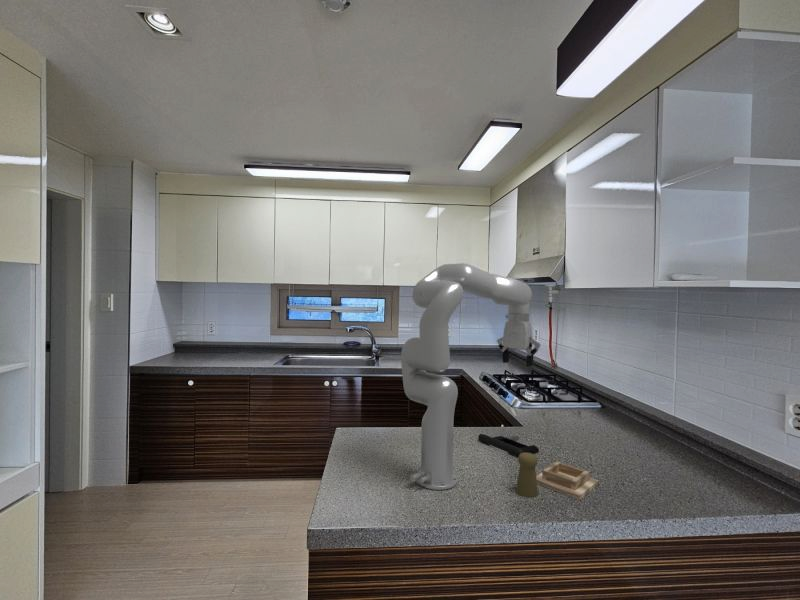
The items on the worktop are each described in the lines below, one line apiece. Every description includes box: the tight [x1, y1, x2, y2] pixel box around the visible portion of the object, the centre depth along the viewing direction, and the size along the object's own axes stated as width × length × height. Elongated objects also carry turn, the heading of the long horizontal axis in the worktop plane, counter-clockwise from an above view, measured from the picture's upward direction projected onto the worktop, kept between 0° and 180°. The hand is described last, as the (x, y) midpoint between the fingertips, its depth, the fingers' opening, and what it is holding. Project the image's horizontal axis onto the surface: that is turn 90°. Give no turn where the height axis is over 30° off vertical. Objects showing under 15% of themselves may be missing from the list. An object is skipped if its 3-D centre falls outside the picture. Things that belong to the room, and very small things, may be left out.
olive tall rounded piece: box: [515, 452, 539, 499], centre depth 116 cm, size 6×6×11 cm
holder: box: [536, 461, 600, 501], centre depth 122 cm, size 14×14×4 cm
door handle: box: [477, 433, 540, 458], centre depth 151 cm, size 3×20×16 cm
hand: (517, 364), depth 151 cm, fingers open, 9 cm apart
